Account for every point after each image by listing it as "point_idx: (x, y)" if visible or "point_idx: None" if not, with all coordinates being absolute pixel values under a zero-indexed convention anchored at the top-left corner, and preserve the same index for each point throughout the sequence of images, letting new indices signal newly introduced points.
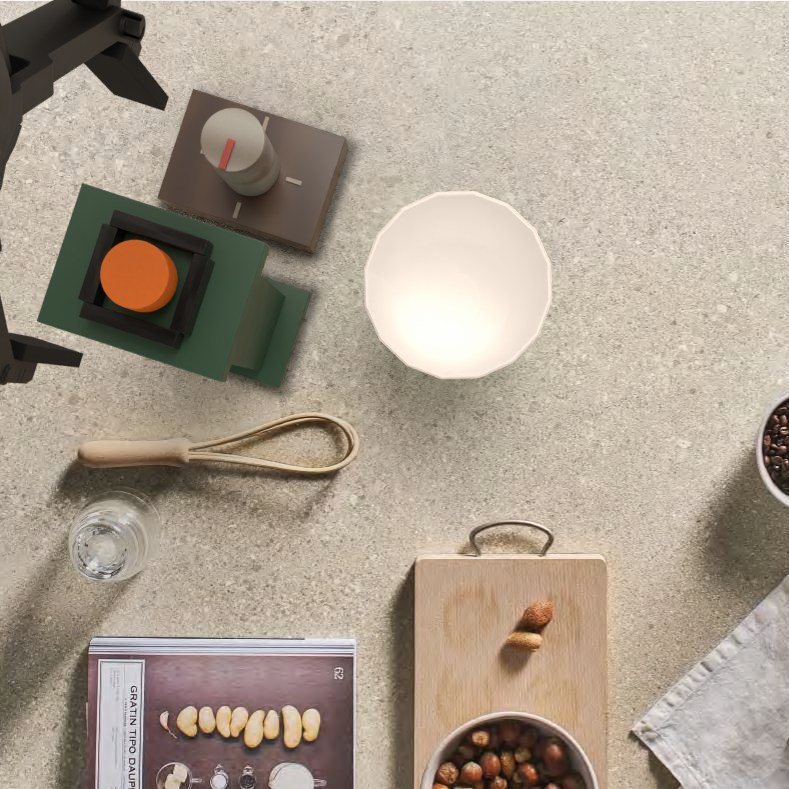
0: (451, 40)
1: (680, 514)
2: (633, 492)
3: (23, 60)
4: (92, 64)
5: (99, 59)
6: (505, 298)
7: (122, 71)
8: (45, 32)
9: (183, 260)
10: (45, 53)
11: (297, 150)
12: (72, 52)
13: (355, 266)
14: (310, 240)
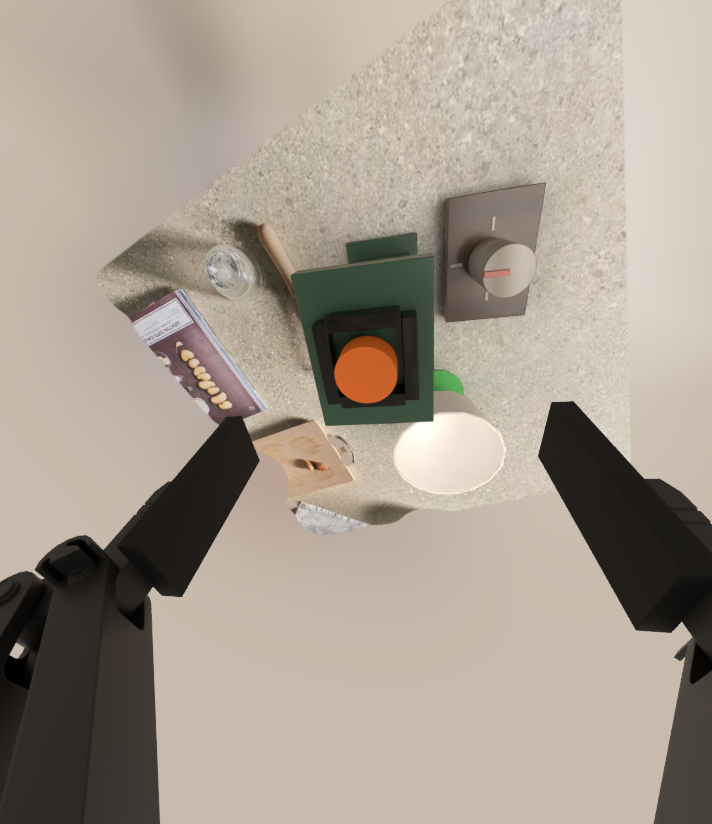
0: (602, 341)
1: (383, 496)
2: (384, 482)
3: None
4: (613, 502)
5: (631, 561)
6: (449, 441)
7: (605, 553)
8: None
9: (397, 373)
10: None
11: None
12: None
13: (442, 342)
14: (450, 321)
